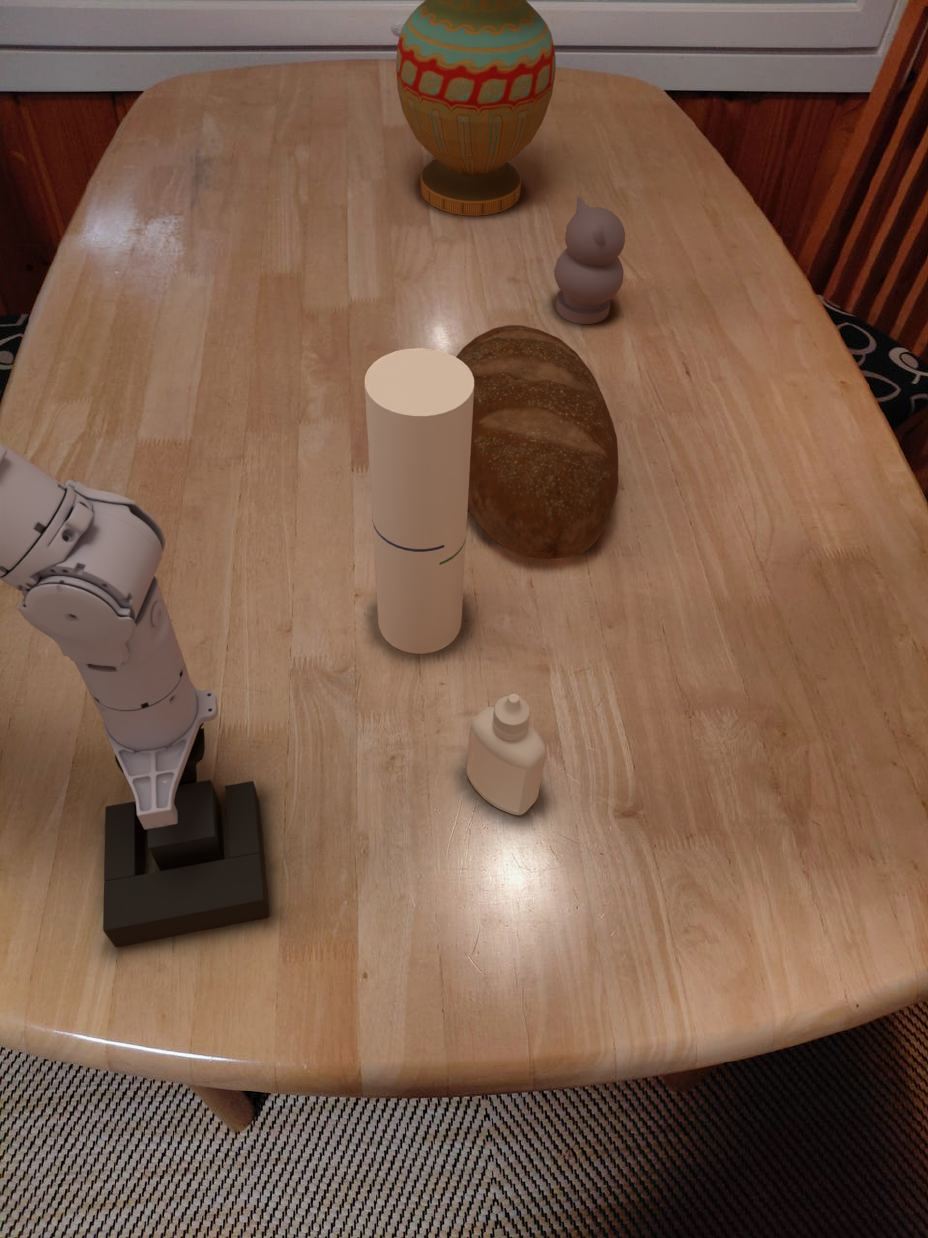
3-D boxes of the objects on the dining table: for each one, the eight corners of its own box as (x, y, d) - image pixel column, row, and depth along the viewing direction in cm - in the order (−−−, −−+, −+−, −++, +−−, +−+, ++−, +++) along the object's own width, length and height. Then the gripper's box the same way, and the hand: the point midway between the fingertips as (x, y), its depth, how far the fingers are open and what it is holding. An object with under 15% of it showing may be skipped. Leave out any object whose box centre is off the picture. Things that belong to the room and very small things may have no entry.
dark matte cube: (160, 873, 65) (147, 848, 62) (159, 816, 68) (146, 790, 65) (224, 861, 66) (214, 835, 63) (221, 805, 68) (211, 779, 65)
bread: (469, 578, 83) (475, 484, 74) (427, 377, 101) (428, 282, 92) (637, 563, 85) (662, 469, 76) (567, 368, 103) (581, 275, 94)
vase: (546, 163, 134) (572, -93, 110) (538, 234, 121) (566, -37, 98) (409, 151, 134) (406, -105, 111) (387, 220, 122) (379, -52, 99)
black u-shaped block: (114, 947, 62) (102, 931, 59) (116, 825, 67) (105, 806, 65) (269, 917, 63) (264, 899, 61) (258, 800, 69) (253, 780, 67)
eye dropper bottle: (487, 828, 68) (498, 742, 59) (461, 764, 71) (467, 673, 62) (542, 810, 69) (561, 723, 60) (514, 748, 72) (528, 656, 63)
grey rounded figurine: (627, 324, 109) (647, 227, 100) (564, 333, 107) (578, 235, 98) (600, 285, 114) (617, 188, 105) (540, 293, 112) (551, 196, 103)
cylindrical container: (369, 598, 81) (353, 357, 62) (447, 581, 83) (455, 341, 63) (390, 662, 77) (379, 424, 58) (472, 643, 79) (488, 405, 59)
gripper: (209, 763, 52) (245, 865, 63) (198, 573, 61) (230, 690, 72) (79, 785, 51) (137, 885, 62) (86, 588, 60) (136, 705, 71)
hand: (181, 782), depth 67 cm, fingers closed
